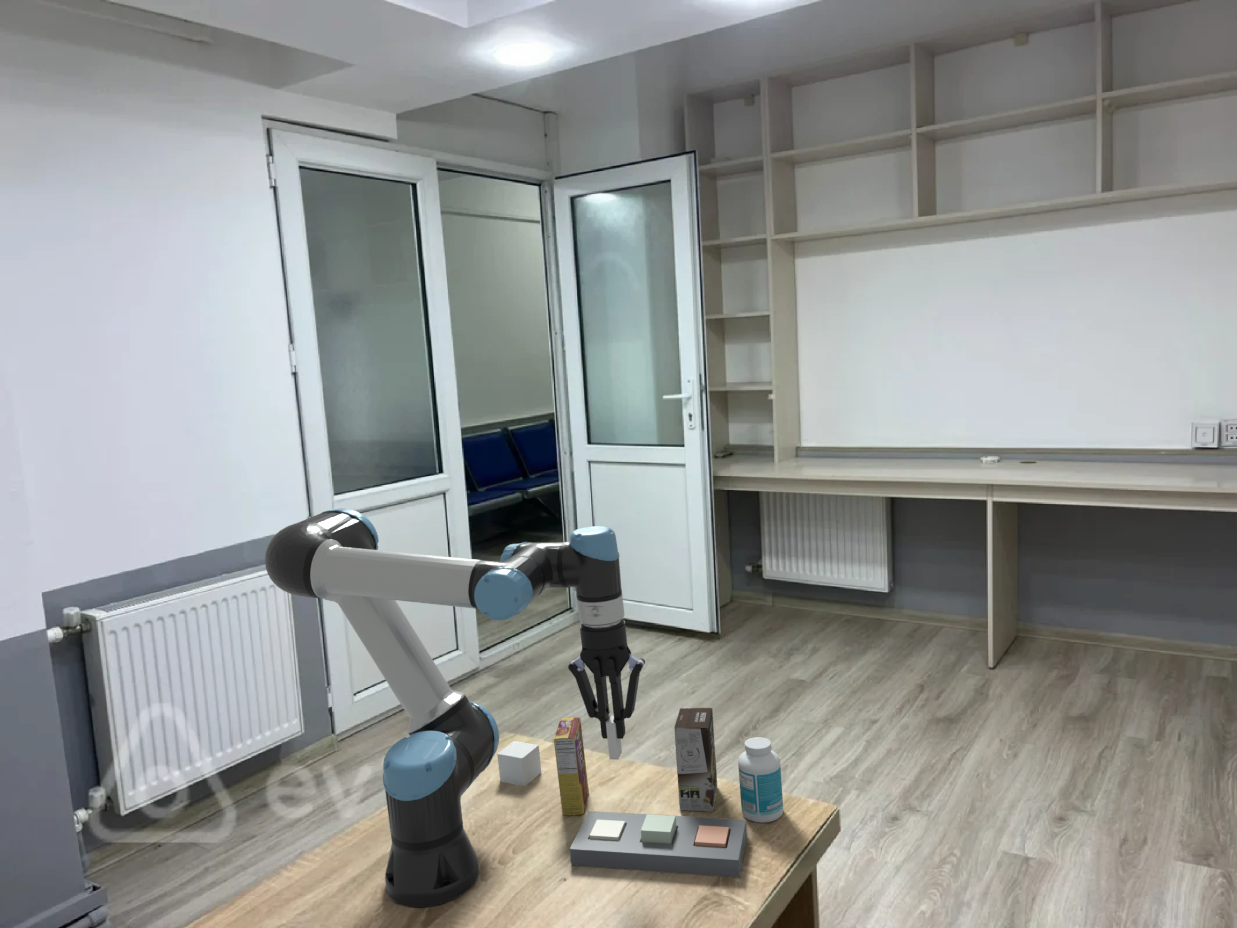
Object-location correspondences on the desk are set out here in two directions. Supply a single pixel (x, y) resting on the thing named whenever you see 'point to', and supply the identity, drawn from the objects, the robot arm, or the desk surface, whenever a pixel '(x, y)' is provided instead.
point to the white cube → (519, 763)
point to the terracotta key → (712, 836)
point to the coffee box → (696, 759)
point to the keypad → (660, 847)
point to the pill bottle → (760, 781)
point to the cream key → (608, 830)
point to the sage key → (658, 829)
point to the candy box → (571, 766)
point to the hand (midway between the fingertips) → (615, 755)
